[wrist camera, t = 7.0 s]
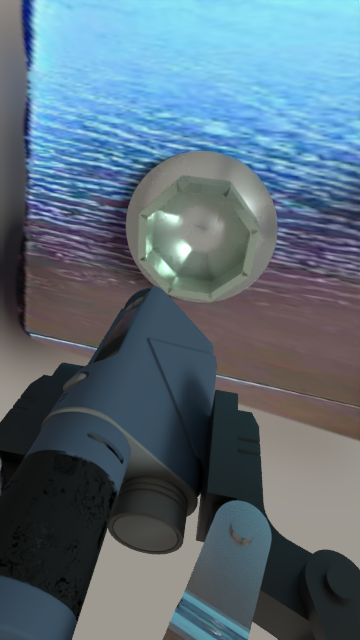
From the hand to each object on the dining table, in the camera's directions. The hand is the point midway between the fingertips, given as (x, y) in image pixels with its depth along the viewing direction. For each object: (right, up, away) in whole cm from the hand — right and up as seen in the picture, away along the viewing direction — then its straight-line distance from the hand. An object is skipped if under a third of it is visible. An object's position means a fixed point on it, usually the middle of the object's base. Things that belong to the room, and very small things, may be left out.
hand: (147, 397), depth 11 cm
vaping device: (+1, +2, +4) cm, 5 cm away
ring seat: (+3, +10, +16) cm, 19 cm away
